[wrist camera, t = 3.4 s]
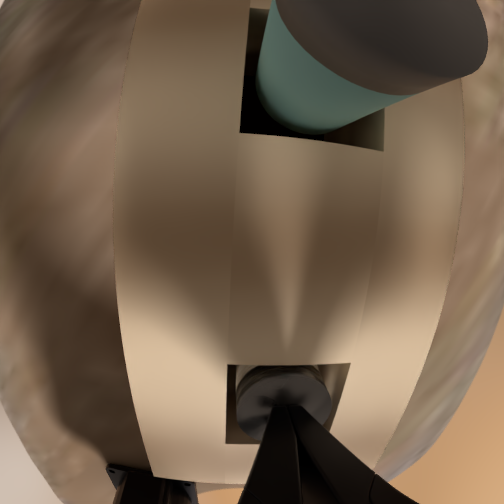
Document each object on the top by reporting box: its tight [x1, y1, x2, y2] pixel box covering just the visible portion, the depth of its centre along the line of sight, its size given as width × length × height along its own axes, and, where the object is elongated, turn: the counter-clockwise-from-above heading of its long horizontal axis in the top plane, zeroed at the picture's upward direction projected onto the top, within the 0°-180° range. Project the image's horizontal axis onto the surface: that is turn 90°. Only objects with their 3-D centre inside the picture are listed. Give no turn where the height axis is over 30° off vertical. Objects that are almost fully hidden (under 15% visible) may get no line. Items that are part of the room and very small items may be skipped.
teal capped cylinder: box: [255, 0, 488, 135], centre depth 4 cm, size 3×3×5 cm
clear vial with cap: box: [236, 365, 332, 441], centre depth 10 cm, size 3×3×5 cm
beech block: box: [113, 0, 465, 484], centre depth 9 cm, size 18×9×5 cm, turn 176°
